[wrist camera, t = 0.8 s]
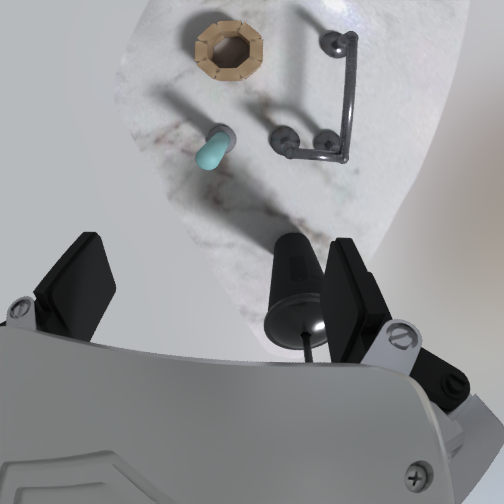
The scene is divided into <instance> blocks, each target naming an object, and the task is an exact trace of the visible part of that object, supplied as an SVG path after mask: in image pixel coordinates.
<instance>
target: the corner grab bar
mask: <svg viewBox="0 0 504 504" xmlns="http://www.w3.org/2000/svg"><path fill="white" fill-rule="evenodd" d="M321 46H322V49H323V51H324V52H325V53H326V54H327V55H328V56H330V57H332V58H343V57H345V56H346V68H345V85H344V99H343V111H342V122H341V132H340V137H339V136H338V135H337V134H335V133H333V132H324V133H321V134H320V135H319V136H318V137H317V139H316V142H315V148H316V150H314V149H302V148H299V145H300V139H299V136H298V134H297V133H296V132H295V131H294V130H292V129H290V128H280V129H278V130H276V131H275V132H274V133H273V135H272V137H271V146H272V148H273V150H274V151H275V152H276V153H278V154H280V155H283V156H285V157H286V158H287V159H307V160H319V161H329V162H339V163H341V164H345V163H347V162H348V160H349V148H350V139H351V131H352V121H353V111H354V99H355V86H356V70H357V46H358V35H357V34H356V33H355V32H353V31H349V32H347V33H345V34H343V35H342V34H340V33H337V32H331V33H328V34H326V35H325V36H324V37H323V39H322V41H321Z"/></svg>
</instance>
